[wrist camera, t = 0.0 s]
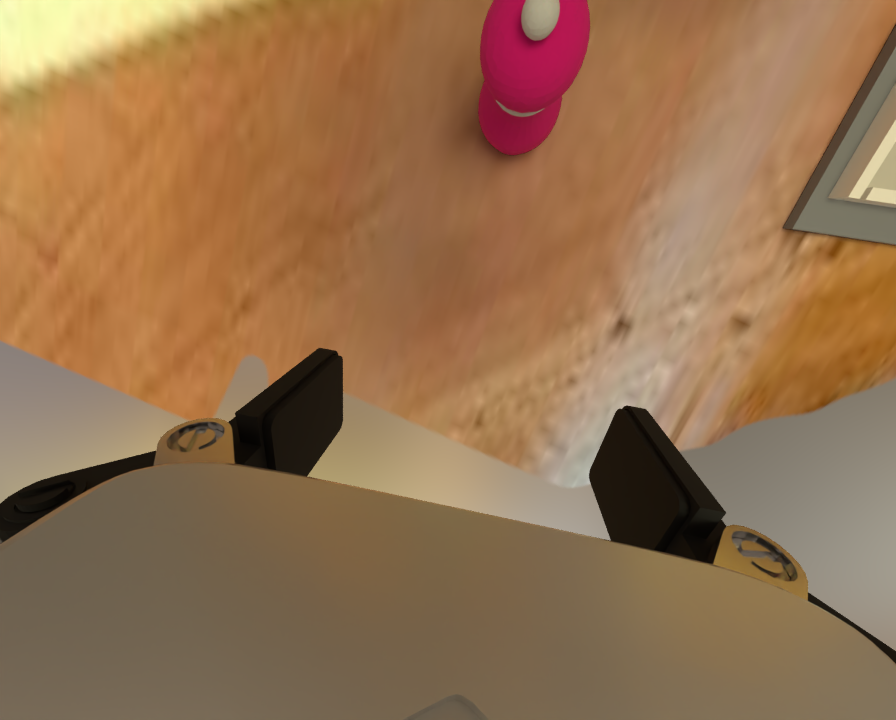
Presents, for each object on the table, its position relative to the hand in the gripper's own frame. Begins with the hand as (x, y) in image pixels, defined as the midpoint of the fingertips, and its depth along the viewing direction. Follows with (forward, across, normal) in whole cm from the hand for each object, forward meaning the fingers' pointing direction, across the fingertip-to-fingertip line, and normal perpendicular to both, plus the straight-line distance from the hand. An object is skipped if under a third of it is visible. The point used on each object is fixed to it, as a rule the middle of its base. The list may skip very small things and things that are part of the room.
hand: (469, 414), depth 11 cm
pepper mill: (+31, 0, -15) cm, 35 cm away
